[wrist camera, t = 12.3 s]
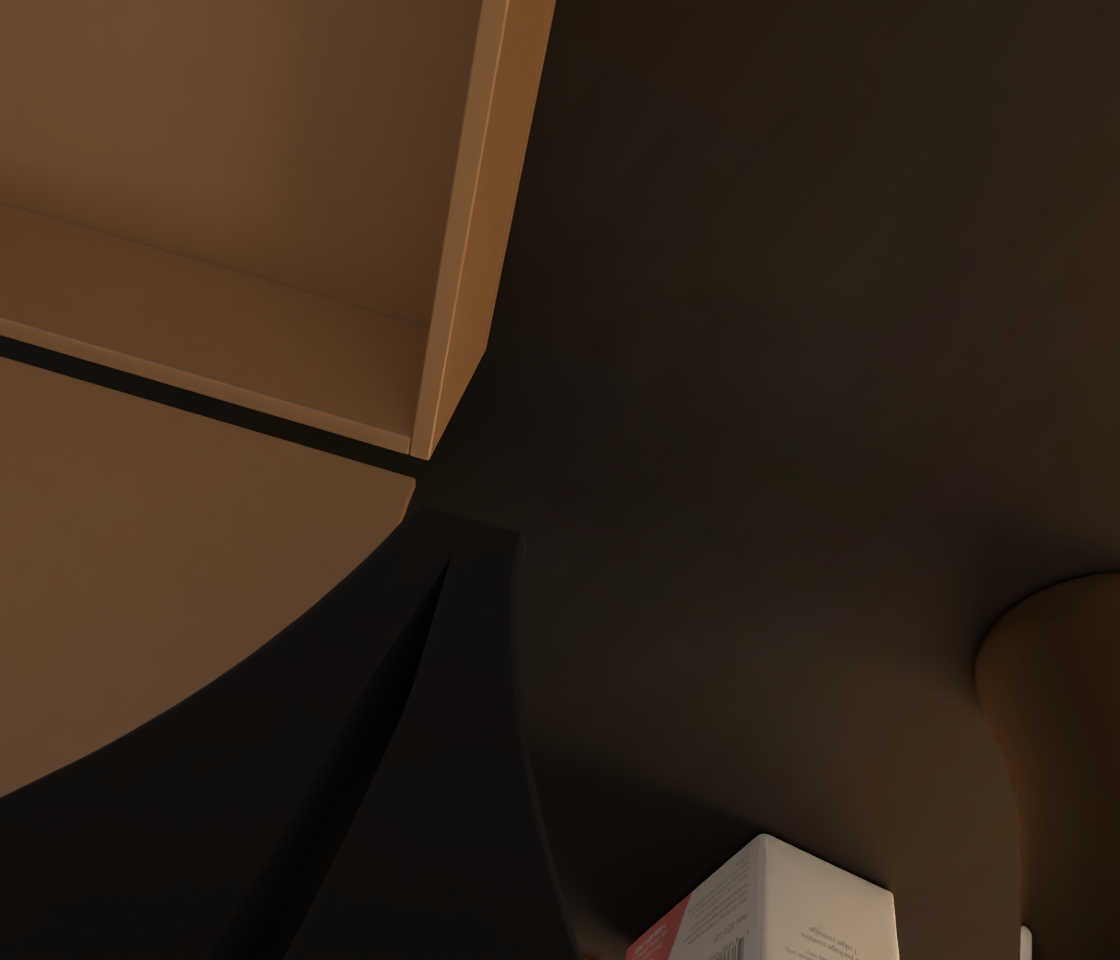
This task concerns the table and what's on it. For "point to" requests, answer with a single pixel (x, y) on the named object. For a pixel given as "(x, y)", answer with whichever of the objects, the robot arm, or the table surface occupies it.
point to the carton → (268, 195)
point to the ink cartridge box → (775, 912)
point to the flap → (152, 556)
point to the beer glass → (1061, 761)
